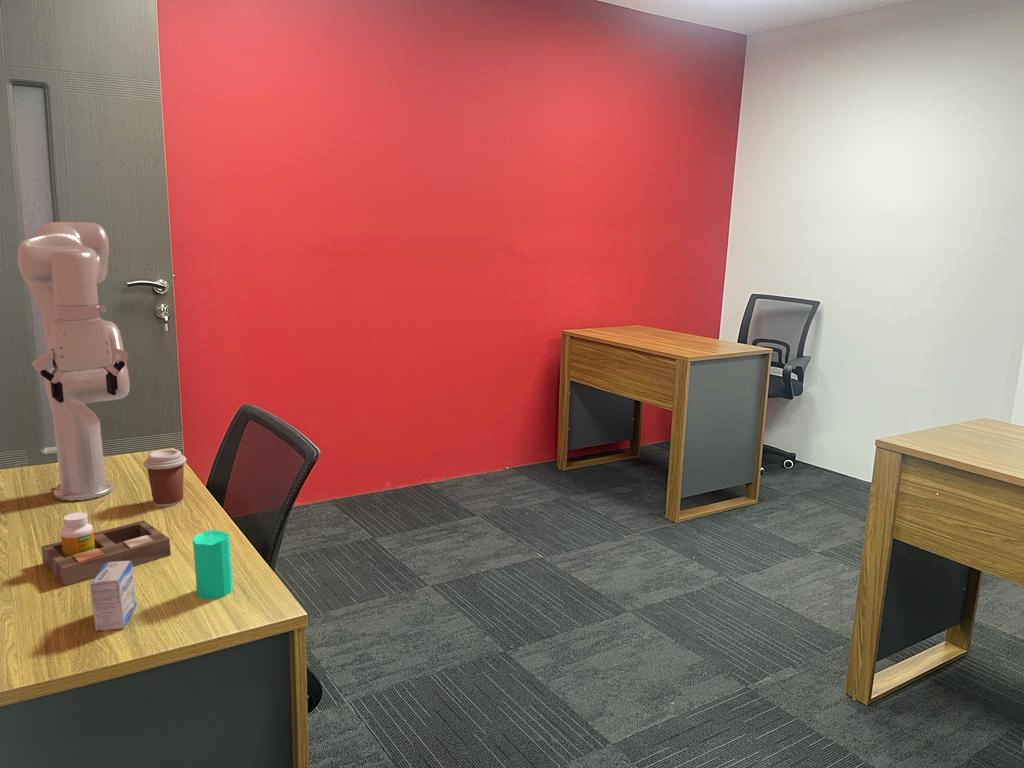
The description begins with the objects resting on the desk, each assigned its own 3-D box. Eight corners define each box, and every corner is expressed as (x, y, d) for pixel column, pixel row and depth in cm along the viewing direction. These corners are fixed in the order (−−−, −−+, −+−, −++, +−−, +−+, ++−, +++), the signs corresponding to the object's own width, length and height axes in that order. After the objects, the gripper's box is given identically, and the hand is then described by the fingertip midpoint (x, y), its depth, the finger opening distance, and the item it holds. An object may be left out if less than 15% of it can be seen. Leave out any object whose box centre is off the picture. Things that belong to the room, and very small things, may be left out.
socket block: (43, 563, 148) (41, 544, 147) (145, 536, 161) (143, 518, 160) (64, 586, 139) (62, 566, 138) (170, 555, 152) (169, 537, 151)
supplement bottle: (82, 571, 145) (77, 522, 143) (57, 568, 146) (52, 520, 144) (102, 559, 150) (97, 512, 148) (78, 556, 151) (73, 509, 149)
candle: (196, 586, 139) (192, 524, 137) (231, 581, 142) (227, 520, 139) (197, 601, 134) (192, 537, 131) (233, 595, 136) (229, 532, 134)
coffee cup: (178, 492, 187) (174, 445, 184) (196, 501, 181) (193, 453, 178) (140, 502, 180) (135, 453, 177) (157, 512, 174) (153, 461, 171)
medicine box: (124, 629, 125) (119, 580, 123) (94, 632, 124) (89, 582, 122) (137, 606, 132) (132, 559, 130) (109, 608, 131) (104, 561, 129)
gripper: (117, 308, 159) (124, 388, 163) (21, 314, 147) (32, 400, 151) (131, 312, 154) (138, 394, 158) (33, 319, 142) (43, 408, 146)
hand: (86, 397), depth 154 cm, fingers open, 9 cm apart
